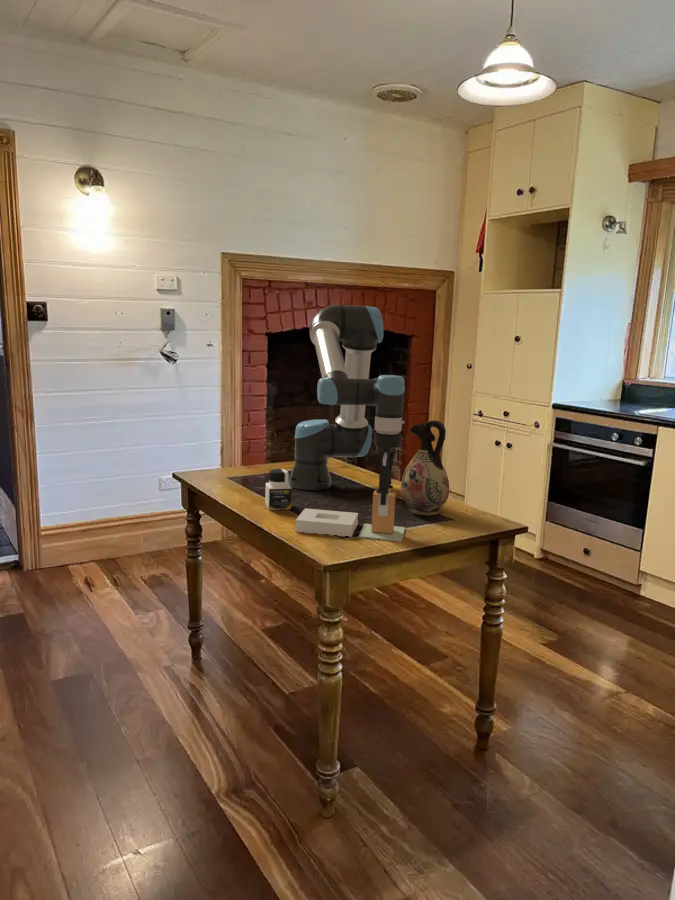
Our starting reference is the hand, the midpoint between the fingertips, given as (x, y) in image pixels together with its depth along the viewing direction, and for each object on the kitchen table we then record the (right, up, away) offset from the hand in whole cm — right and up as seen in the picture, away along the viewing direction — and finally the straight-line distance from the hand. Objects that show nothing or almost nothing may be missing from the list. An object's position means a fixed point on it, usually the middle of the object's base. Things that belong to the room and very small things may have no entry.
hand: (383, 512), depth 194 cm
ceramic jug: (+15, -2, +24) cm, 28 cm away
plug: (0, -5, +1) cm, 5 cm away
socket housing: (-16, -5, +4) cm, 17 cm away
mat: (0, -6, +1) cm, 6 cm away
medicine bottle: (-32, 0, +23) cm, 39 cm away
